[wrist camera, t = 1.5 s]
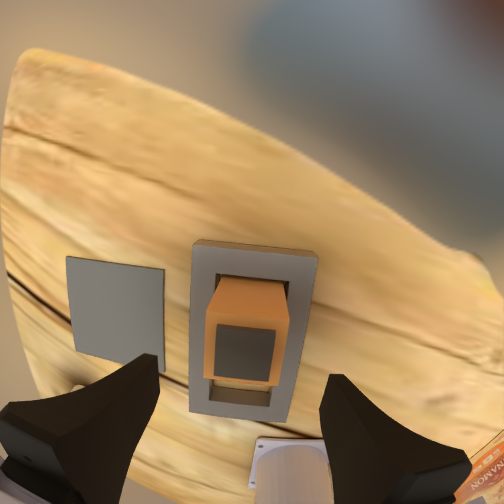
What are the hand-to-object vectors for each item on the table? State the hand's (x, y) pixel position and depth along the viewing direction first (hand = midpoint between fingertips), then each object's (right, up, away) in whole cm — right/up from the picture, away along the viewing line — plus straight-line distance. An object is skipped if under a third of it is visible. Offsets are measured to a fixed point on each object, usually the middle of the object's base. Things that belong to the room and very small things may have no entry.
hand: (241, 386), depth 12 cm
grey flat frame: (0, -1, +11) cm, 11 cm away
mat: (-11, 0, +11) cm, 16 cm away
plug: (0, +2, +10) cm, 11 cm away
